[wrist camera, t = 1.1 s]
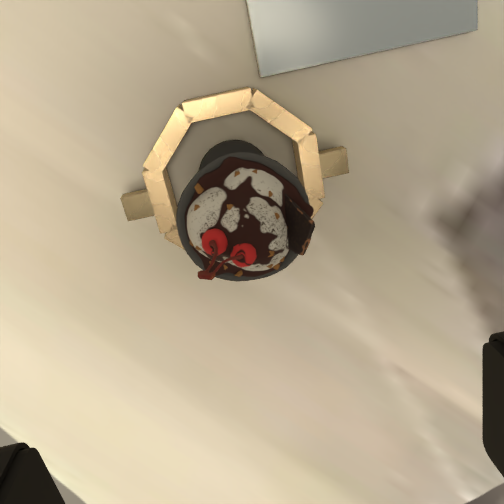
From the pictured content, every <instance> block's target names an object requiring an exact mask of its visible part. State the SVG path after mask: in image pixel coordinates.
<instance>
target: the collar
mask: <svg viewBox="0 0 504 504" xmlns="http://www.w3.org/2000/svg"><path fill="white" fill-rule="evenodd" d="M182 105H183V106H181V105H180V104H179V105H178V106H177V108H176V109H175V111H174V113H173V114H172V116H171V118H170V120H169V121H168V123H167V125H166V127H165V128H164V130H163V132H162V134H161V135H160V137H159V139H158V140H157V142H156V144H155V146H154V147H153V149H152V151H151V153H150V154H149V156H148V158H147V159H146V161H145V163H144V165H143V166H144V167H145V169H144V170H143V172H142V174H143V177H144V181H145V184H146V187H147V189H144V190H139V191H135V192H130V193H125V194H123V195H122V197H121V201H122V204H123V207H124V210H125V213H126V216H127V220H128V221H131V220H136V219H140V218H145V217H149V216H154V215H155V217H156V221H157V224H158V227H159V231H160V233H165V232H166V233H165V237H164V238H165V239H167V240H168V241H170V242H172V243H174V244H176V245H177V246H179V247H181V248H183V249H184V247H183V245H182V243H181V241H180V238H179V235H178V230H177V225H176V213H177V204H176V201H175V197H174V193H173V190H172V186H171V183H170V179H169V175H168V172H167V168H166V165H167V163H168V161H169V160H170V158H171V156H172V155H173V153H174V151H175V150H176V148H177V146H178V145H179V143H180V141H181V140H182V138H183V136H184V134H185V133H186V131H187V129H188V128H189V126H190V124H191V123H192V122H196V121H201V120H206V119H210V118H215V117H219V116H224V115H228V114H233V113H238V112H242V111H247V110H251V111H252V112H254V113H255V114H257V115H258V116H260V117H261V118H263V119H264V120H266V121H267V122H268V123H270V124H271V125H273V126H274V127H276V128H277V129H279V130H280V131H282V132H283V133H284V134H286V135H287V136H289V137H290V138H292V144H293V150H294V156H295V162H296V168H297V174H298V180H299V181H300V183H301V184H302V186H303V187H304V189H305V191H306V193H307V195H308V198H309V203H310V205H311V206H312V207H313V209H314V212H313V215H312V216H311V219H312V218H313V217H314V215H315V214H316V213H317V211H318V210H319V209H320V207H321V206H322V204H323V202H322V201H321V200H320V198H325V195H324V188H323V181H322V179H323V178H327V177H332V176H337V175H341V174H346V173H349V168H348V160H347V152H346V148H344V147H343V146H340V147H335V148H331V149H326V150H322V151H318V146H317V139H316V134H315V133H313V132H312V131H311V130H312V128H311V127H309V126H308V125H306V124H305V123H304V122H302V121H301V120H299V119H298V118H297V117H295V116H294V115H292V114H291V113H289V112H288V111H287V110H285V109H284V108H282V107H281V106H280V105H278V104H277V103H275V102H274V101H272V100H271V99H270V98H268V97H267V96H265V95H264V94H263V93H261V92H260V91H258V90H257V89H255V88H253V89H252V91H251V88H249V87H243V88H239V89H234V90H230V91H225V92H221V93H216V94H211V95H207V96H202V97H198V98H193V99H189V100H184V101H183V103H182ZM184 250H185V249H184Z"/></svg>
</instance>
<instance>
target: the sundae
mask: <svg viewBox="0 0 504 504" xmlns="http://www.w3.org/2000/svg"><path fill="white" fill-rule="evenodd" d="M313 212H314V209H313V207H312V206H311V205H310V203H309V198H308V195H307V193H306V191H305V189H304V187H303V186H302V184H301V183H300V181H299V180H298V178H297V177H296V176H295V175H294V174H293V173H291V172H290V171H289V170H288V169H287V168H285V167H284V166H283V165H281V164H280V163H278V162H277V161H275V160H272V159H270V158H267V157H265V156H264V155H263V153H262V152H261V151H260V150H259V149H257V148H256V147H255V146H253V145H252V144H250V143H247V142H244V141H240V140H230V141H225V142H222V143H220V144H218V145H216V146H214V147H213V148H211V149H210V150H209V152H208V153H207V154H206V155H205V157H204V158H203V160H202V162H201V166H200V170H199V171H198V173H197V174H196V175H195V176H194V177H193V179H192V180H191V181H190V182H189V184H188V185H187V187H186V188H185V190H184V191H183V193H182V195H181V198H180V201H179V204H178V208H177V213H176V225H177V230H178V235H179V238H180V241H181V243H182V245H183V247H184V249H185V251H186V252H187V254H188V255H189V256H190V258H191V259H192V260H193V262H194V263H195V264H196V265H197V266H199V267H200V268H201V269H203V270H202V271H199V272H198V277H199V279H207V280H212V279H213V278H214V277H217V278H221V279H225V280H230V281H248V280H255V279H260V278H265V277H268V276H271V275H273V274H275V273H277V272H279V271H281V270H282V269H284V268H286V267H287V266H288V265H289V264H290V263H291V262H292V261H293V260H294V259H295V258H296V257H297V256H298V254H299V255H304V254H305V252H306V250H307V248H308V245H309V243H310V240H311V235H312V233H313V231H314V228H315V224H314V221H313V220H312V219H311V216H312V215H313Z"/></svg>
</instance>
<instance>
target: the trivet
mask: <svg viewBox="0 0 504 504" xmlns="http://www.w3.org/2000/svg"><path fill="white" fill-rule="evenodd" d="M246 4H247V10H248V15H249V21H250V26H251V32H252V37H253V43H254V48H255V54H256V59H257V65H258V70H259V76H260V77H266V76H270V75H275V74H279V73H284V72H288V71H293V70H298V69H302V68H307V67H311V66H316V65H320V64H325V63H330V62H334V61H339V60H343V59H348V58H352V57H357V56H361V55H366V54H371V53H375V52H380V51H384V50H389V49H393V48H398V47H403V46H407V45H412V44H416V43H421V42H425V41H430V40H435V39H439V38H444V37H448V36H453V35H457V34H462V33H467V32H471V31H476V30H478V7H477V0H246Z"/></svg>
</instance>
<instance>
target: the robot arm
mask: <svg viewBox="0 0 504 504" xmlns="http://www.w3.org/2000/svg"><path fill="white" fill-rule="evenodd" d="M483 444H484V447H485V450H486V452H487V454H488V456H489V458H490V459H491V461H492V462H493V463H494V465H495V466H496V467H497V469H498V470H499V471H500V473H501V474H502V476H503V477H504V332H499V333H495V334H492V335H491V336H490V338H489V343H485V344H484V345H483ZM0 504H65V502H64V500H63V498H62V496H61V494H60V493H59V490H58V489H57V487H56V485H55V483H54V481H53V479H52V477H51V475H50V473H49V471H48V469H47V467H46V465H45V463H44V462H43V460H42V458H41V456H40V454H39V452H38V451H37V449H36V448H30V447H29V446H28V445H27V444H26V443H17V444H12V445H8V446H4V447H0Z"/></svg>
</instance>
